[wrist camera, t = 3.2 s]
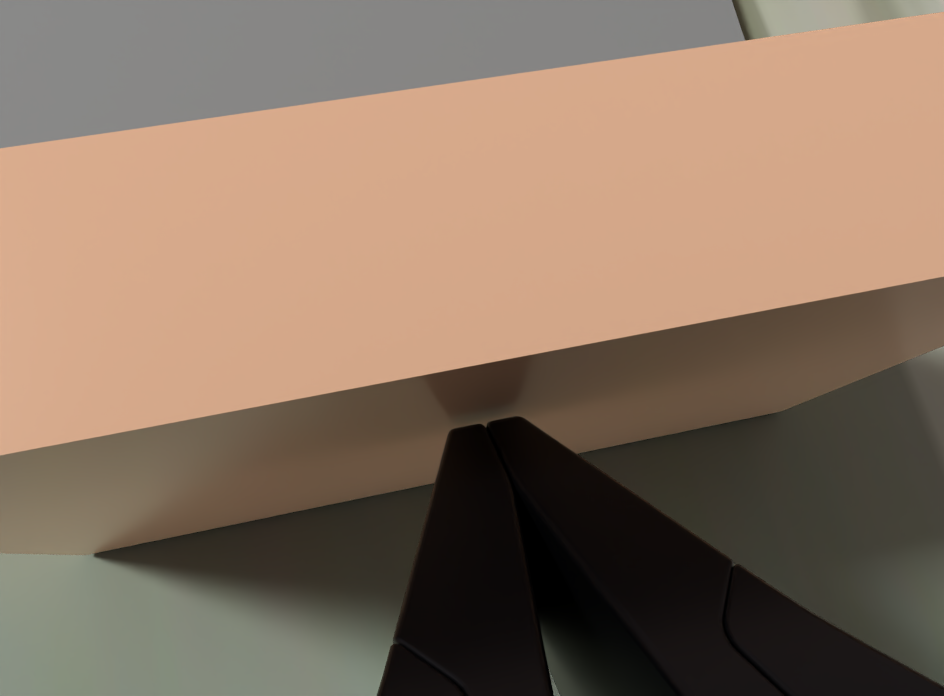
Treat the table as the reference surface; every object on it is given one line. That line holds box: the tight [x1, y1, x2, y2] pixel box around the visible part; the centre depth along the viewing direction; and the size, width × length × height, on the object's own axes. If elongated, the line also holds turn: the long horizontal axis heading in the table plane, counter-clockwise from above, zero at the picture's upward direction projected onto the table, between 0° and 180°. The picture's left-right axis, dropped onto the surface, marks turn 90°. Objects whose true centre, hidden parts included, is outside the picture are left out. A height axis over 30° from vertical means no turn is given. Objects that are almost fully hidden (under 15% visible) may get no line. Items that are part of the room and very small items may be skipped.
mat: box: [0, 0, 745, 148], centre depth 18 cm, size 12×18×1 cm, turn 102°
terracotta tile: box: [0, 12, 944, 555], centre depth 12 cm, size 2×14×10 cm, turn 102°
